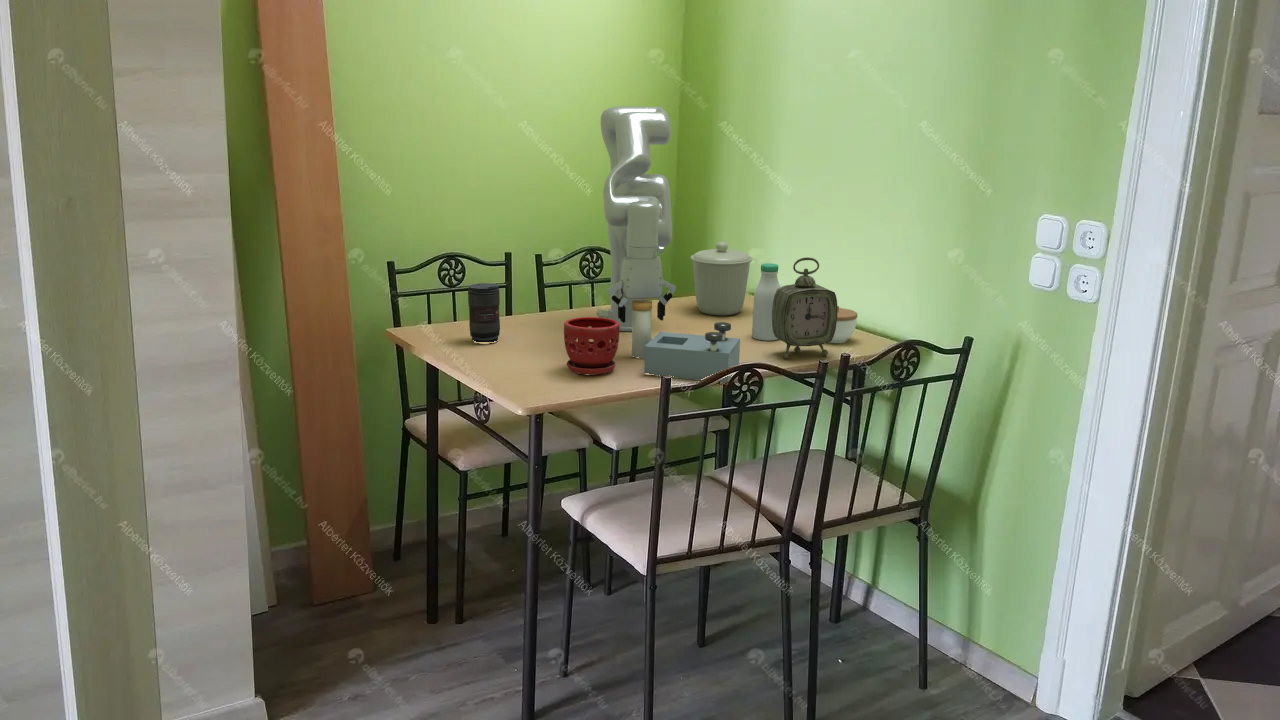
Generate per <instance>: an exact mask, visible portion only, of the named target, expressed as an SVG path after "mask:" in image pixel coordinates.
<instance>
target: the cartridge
mask: <svg viewBox="0 0 1280 720" xmlns="http://www.w3.org/2000/svg"><path fill="white" fill-rule="evenodd" d="M652 308H653V301H652V300H650V299H645V300H634V301H632V331H631V357H632V356H634V357H639V358H644V351H645V345H646V344H647V343H649V342H650V341H651V340H652Z"/></svg>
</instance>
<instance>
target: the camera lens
mask: <svg viewBox="0 0 1280 720" xmlns="http://www.w3.org/2000/svg"><path fill="white" fill-rule="evenodd" d="M499 288H500V287H499V285H498V284H496V283H490V282H488V283H486V282H484V283H483V282H481V283H473V284H470V285H469V284H468V289H467V301H468V304H467V305H468V317H469V319H468V320H469V333H470V337H471V341H472V340H474V341H476V342H494V341H497V340H498V341H499V336H500V330H501V320H500V299H501V298H500V289H499ZM498 341H497V342H498Z"/></svg>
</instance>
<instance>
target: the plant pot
mask: <svg viewBox="0 0 1280 720" xmlns="http://www.w3.org/2000/svg"><path fill="white" fill-rule="evenodd" d="M619 330H620V324H619V322H617V321H615V320H612V319H608V318H600V317H598V316H584V317H583V316H582V317H573V318H569V319H567V320H565V321H564V324H563V339H564V340H563V341H564V348H565V350H566V351H565V352H566V354H567V356H568V358H569V359H568V360H567V361H566V366H567V368H568V370H570V371H571V372H573V373H574V374H578V373H579V374H578V375H583V374H589V375H588V376H596V374H600V375H603V374H604V375H605V374H607V372H608V373H610V372H612V371H613V370H614V369H615V367H616V361H614V358H615V356H616V353H617V352H618V345H619V340H620V331H619ZM590 340H592V341H590Z"/></svg>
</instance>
